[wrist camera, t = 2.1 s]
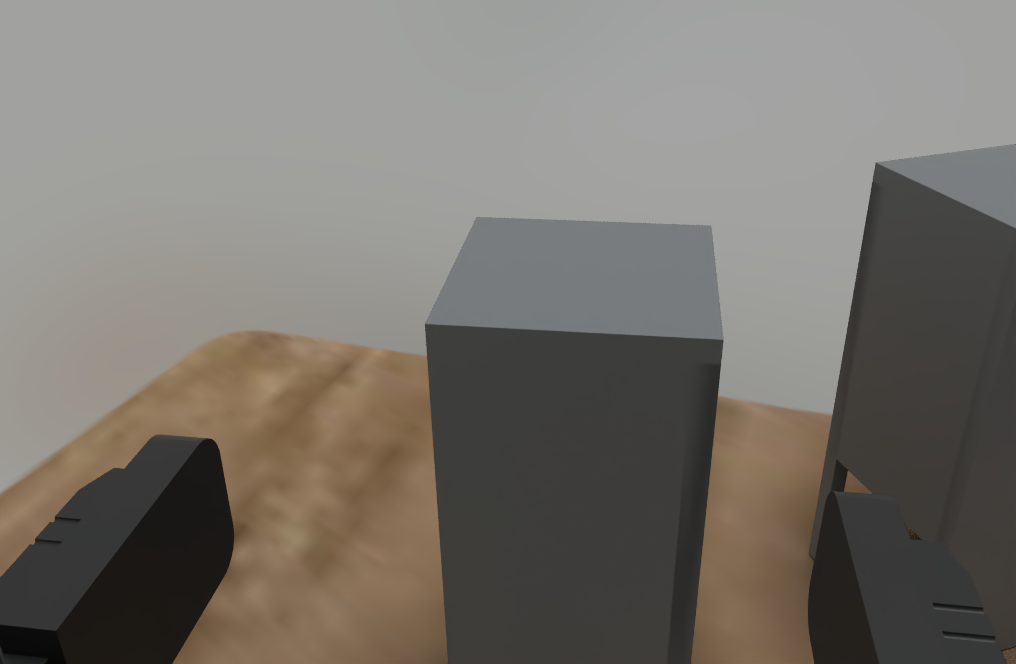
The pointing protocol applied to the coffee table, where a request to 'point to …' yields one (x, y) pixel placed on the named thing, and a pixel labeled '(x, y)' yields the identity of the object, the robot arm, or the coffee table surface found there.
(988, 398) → the tall gray rectangular cabinet
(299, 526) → the coffee table surface
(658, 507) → the gray legged block
